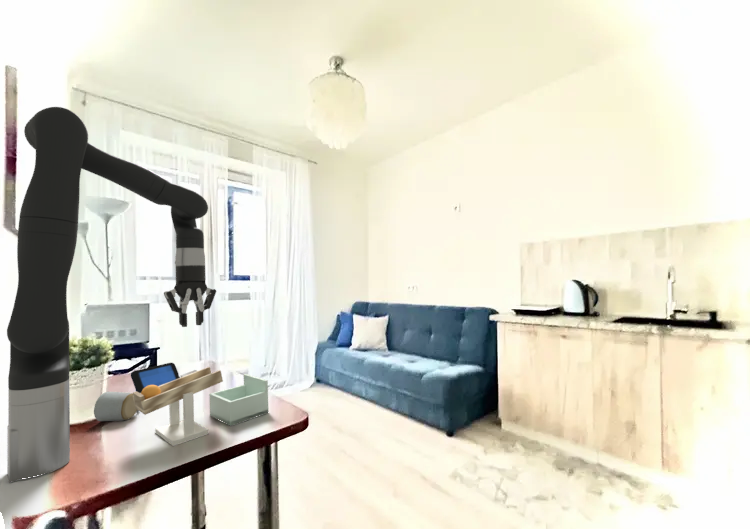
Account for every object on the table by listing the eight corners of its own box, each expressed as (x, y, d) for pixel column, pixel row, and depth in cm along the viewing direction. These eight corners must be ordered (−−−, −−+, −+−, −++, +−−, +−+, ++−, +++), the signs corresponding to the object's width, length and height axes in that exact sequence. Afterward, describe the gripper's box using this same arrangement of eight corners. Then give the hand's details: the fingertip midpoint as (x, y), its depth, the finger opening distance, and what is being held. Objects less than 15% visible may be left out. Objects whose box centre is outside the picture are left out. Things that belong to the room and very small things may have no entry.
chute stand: (172, 446, 81) (172, 399, 81) (155, 432, 89) (154, 390, 89) (208, 433, 87) (207, 390, 87) (189, 422, 95) (188, 382, 95)
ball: (148, 408, 81) (140, 393, 80) (143, 404, 84) (135, 390, 83) (166, 396, 84) (158, 382, 83) (160, 393, 87) (153, 379, 86)
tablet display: (155, 405, 111) (154, 375, 111) (129, 400, 116) (128, 372, 117) (199, 389, 125) (198, 363, 125) (173, 386, 130) (173, 361, 131)
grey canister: (123, 424, 95) (123, 395, 96) (92, 425, 95) (93, 396, 95) (148, 410, 106) (148, 384, 106) (120, 411, 106) (120, 385, 106)
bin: (230, 426, 91) (229, 390, 91) (209, 415, 99) (209, 382, 99) (268, 412, 99) (267, 380, 99) (246, 404, 107) (246, 374, 107)
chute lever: (145, 414, 79) (141, 397, 79) (124, 400, 90) (121, 385, 89) (222, 381, 92) (219, 366, 92) (197, 372, 103) (194, 359, 103)
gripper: (167, 263, 93) (169, 330, 92) (221, 264, 103) (222, 323, 103) (158, 265, 98) (159, 328, 97) (209, 265, 108) (211, 322, 108)
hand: (191, 325), depth 100 cm, fingers open, 3 cm apart
